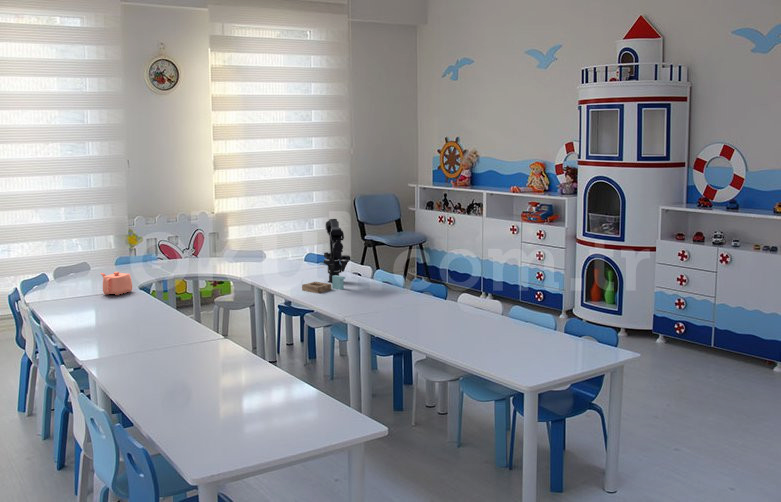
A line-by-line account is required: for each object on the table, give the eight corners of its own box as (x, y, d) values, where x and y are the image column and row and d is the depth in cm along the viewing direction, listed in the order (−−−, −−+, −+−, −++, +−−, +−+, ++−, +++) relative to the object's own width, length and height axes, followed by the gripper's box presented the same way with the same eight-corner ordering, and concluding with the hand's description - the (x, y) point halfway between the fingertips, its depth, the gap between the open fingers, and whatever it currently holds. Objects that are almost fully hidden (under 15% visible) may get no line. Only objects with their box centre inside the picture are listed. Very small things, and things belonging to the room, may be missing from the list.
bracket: (335, 287, 492) (335, 275, 491) (345, 289, 487) (345, 276, 486) (332, 288, 490) (332, 275, 489) (342, 290, 485) (341, 277, 483)
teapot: (112, 288, 501) (110, 268, 498) (137, 290, 494) (135, 269, 492) (90, 295, 482) (88, 274, 480) (116, 297, 476) (114, 275, 473)
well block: (315, 286, 495) (315, 281, 494) (331, 289, 486) (331, 284, 485) (302, 290, 486) (301, 284, 485) (317, 293, 477) (317, 287, 476)
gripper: (338, 245, 497) (338, 269, 500) (317, 249, 483) (318, 273, 486) (350, 247, 490) (351, 271, 492) (329, 251, 476) (330, 276, 478)
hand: (337, 273), depth 487 cm, fingers open, 9 cm apart
